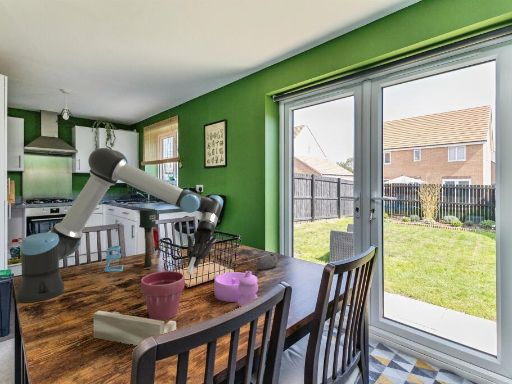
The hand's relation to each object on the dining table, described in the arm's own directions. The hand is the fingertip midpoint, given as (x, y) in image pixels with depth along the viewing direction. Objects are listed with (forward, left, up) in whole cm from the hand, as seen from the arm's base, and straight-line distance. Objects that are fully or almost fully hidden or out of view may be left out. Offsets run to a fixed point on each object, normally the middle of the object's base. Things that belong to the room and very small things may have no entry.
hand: (189, 273), depth 111 cm
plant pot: (-4, -16, -9) cm, 19 cm away
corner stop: (-6, -29, -9) cm, 31 cm away
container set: (+20, 0, -9) cm, 22 cm away
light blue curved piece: (-48, +26, -9) cm, 56 cm away
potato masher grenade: (-34, +34, -9) cm, 49 cm away
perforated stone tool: (+29, +39, -9) cm, 50 cm away
